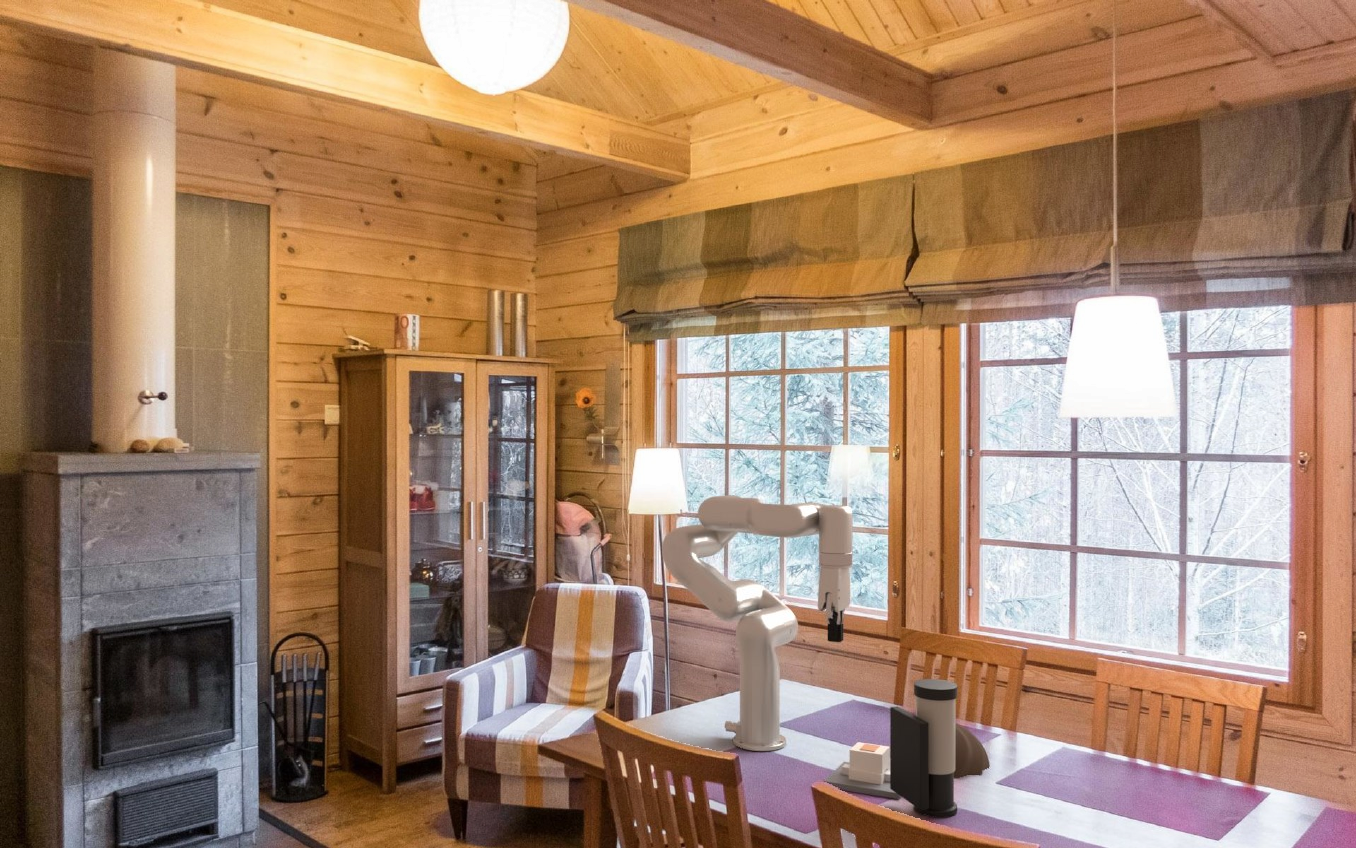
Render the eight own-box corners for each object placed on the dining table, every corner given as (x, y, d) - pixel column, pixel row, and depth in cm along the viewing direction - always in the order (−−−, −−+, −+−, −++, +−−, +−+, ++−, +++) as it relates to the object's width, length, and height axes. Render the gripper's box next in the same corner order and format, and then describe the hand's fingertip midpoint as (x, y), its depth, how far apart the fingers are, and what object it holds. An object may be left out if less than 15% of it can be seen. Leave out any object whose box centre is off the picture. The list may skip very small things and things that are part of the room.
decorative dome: (987, 783, 215) (987, 736, 215) (893, 772, 221) (893, 727, 222) (991, 756, 233) (991, 712, 233) (904, 746, 240) (904, 704, 240)
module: (848, 779, 213) (848, 749, 213) (858, 769, 219) (858, 740, 219) (881, 784, 210) (881, 754, 210) (890, 774, 216) (890, 745, 216)
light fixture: (971, 818, 195) (971, 690, 195) (920, 824, 192) (920, 694, 192) (938, 797, 206) (938, 675, 206) (889, 802, 203) (889, 679, 203)
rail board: (823, 786, 212) (824, 773, 212) (844, 767, 224) (844, 754, 224) (899, 799, 205) (899, 786, 205) (916, 778, 217) (916, 765, 217)
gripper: (830, 555, 237) (829, 633, 237) (808, 562, 224) (808, 646, 224) (861, 557, 234) (861, 636, 234) (841, 565, 220) (841, 649, 220)
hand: (835, 641), depth 229 cm, fingers closed
